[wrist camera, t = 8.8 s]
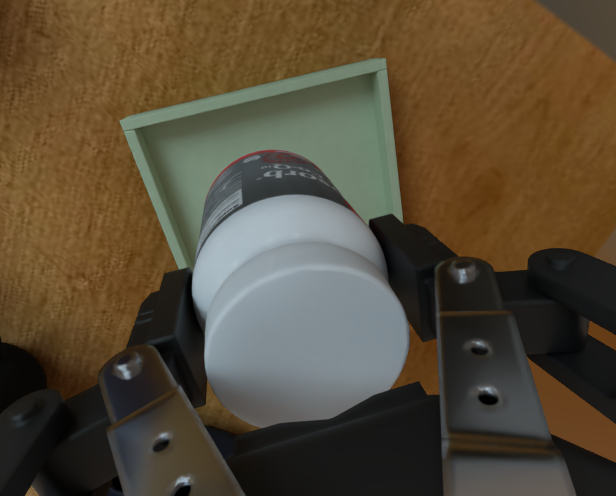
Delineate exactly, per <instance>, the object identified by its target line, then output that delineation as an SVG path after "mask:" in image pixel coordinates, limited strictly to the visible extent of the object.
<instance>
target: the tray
mask: <svg viewBox="0 0 616 496" xmlns="http://www.w3.org/2000/svg"><path fill="white" fill-rule="evenodd" d="M386 69H387V65H386V59H385V58H373V59H369V60H365V61H360V62H356V63H352V64H348V65H343V66H339V67H335V68H331V69H326V70H322V71H318V72H314V73H309V74H305V75H301V76H297V77H292V78H288V79H284V80H280V81H275V82H271V83H267V84H263V85H258V86H254V87H250V88H246V89H241V90H237V91H233V92H229V93H224V94H220V95H216V96H212V97H207V98H203V99H199V100H195V101H190V102H186V103H182V104H178V105H173V106H169V107H165V108H161V109H156V110H152V111H148V112H144V113H139V114H135V115H131V116H127V117H126V118H124V119H122V120H120V124H121V126H122V129H123V131H125V132H124V134H125V136H126V139H127V141H128V144H129V146H130V149H131V151H132V154H133V156H134V159H135V161H136V164H137V166H138V169H139V171H140V174H141V176H142V179H143V181H144V184H145V186H146V189H147V191H148V194H149V196H150V199H151V201H152V204H153V206H154V209H155V211H156V214H157V216H158V219H159V221H160V224H161V226H162V229H163V231H164V233H165V236H166V238H167V241H168V243H169V246H170V248H171V251H172V253H173V256H174V258H175V261H176V263H177V266H178V268H179V269H183V268H187V267H189V268H190V269H191V271H192V273H193V269H194V264H195V258H196V253H197V247H198V241H199V235H200V229H201V223H202V216H203V211H204V205H205V200H206V196H207V194H208V192H209V189H210V187H211V185H212V183H213V181H214V180H215V179H216V177H217V176H218V174H219V173H220V172H221V171H222V170H223V169H224V168H225V167H226V166H227V165H228V164H230V163H231V162H233V161H234V160H236V159H237V158H239V157H241V156H243V155H245V154H248V153H251V152H255V151H259V150H266V149H278V150H285V151H290V152H293V153H296V154H299V155H301V156H303V157H305V158H306V159H308V160H310V161H311V162H312V163H314V164H315V165H316V166H317V167H318V168H319V169H321V170H322V171H323V172H324V174H325V175H326V176H327V177H328V178H329V179H330V181H331V182H332V183H333V185H334V186H335V187H336V188H337V189H338V191H339V192H340V193H341V194H342V195H343V197H344V198H345V199H346V200H347V201H348V203H349V204H350V205H351V206H352V208H353V209H354V210H355V211H356V212H357V213H358V215H359V216H360V217H361V218H362V219H363V220H364V222H365V223H366V224H367V225H368V227H369V219H372V218H376V217H380V216H384V215H387V214H391V213H392V214H393V215H394V216H395V217H397V218H398V219H399V220H400V221H401V222H402V223H403V215H402V205H401V196H400V187H399V177H398V168H397V159H396V149H395V140H394V131H393V121H392V112H391V103H390V93H389V84H388V75H387V70H386Z"/></svg>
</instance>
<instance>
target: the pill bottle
mask: <svg viewBox="0 0 616 496" xmlns="http://www.w3.org/2000/svg"><path fill="white" fill-rule="evenodd" d="M388 282H389V281H388V269H387V264H386V260H385V256H384V253H383V251H382V248H381V246H380V244H379V242H378V241H377V239H376V237H375V236H374V234H373V233H372V231H371V230H370V228H369V227H368V225H367V224H366V223H365V222H364V220H363V219H362V218H361V217H360V216H359V215H358V213H357V212H356V211H355V210H354V209H353V208H352V206H351V205H350V204H349V203H348V201H347V200H346V199H345V198H344V197H343V195H342V194H341V193H340V192H339V191H338V189H337V188H336V187H335V186H334V185H333V183H332V182H331V181H330V179H329V178H328V177H327V176H326V175H325V174H324V172H323V171H322V170H321V169H319V168H318V167H317V166H316V165H315V164H314V163H312V162H311V161H310V160H308V159H306V158H305V157H303V156H301V155H299V154H296V153H293V152H290V151H285V150H278V149H266V150H259V151H255V152H251V153H248V154H245V155H243V156H241V157H239V158H237V159H236V160H234V161H233V162H231V163H230V164H228V165H227V166H226V167H225V168H224V169H223V170H222V171H221V172H220V173H219V174H218V176H217V177H216V179H215V180H214V181H213V183H212V185H211V187H210V189H209V192H208V194H207V196H206V200H205V205H204V211H203V216H202V223H201V229H200V235H199V241H198V247H197V253H196V258H195V264H194V269H193V279H192V300H193V307H194V311H195V315H196V318H197V320H198V323H199V325H200V327H201V329H202V331H203V333H204V334H205V352H204V361H205V370H206V375H207V378H208V381H209V384H210V386H211V388H212V390H213V392H214V394H215V395H216V397H217V398H218V399H219V401H220V402H221V403H222V404H223V406H224V407H225V408H227V409H228V410H229V411H230V412H231V413H232V414H234V415H235V416H237V417H238V418H240V419H241V420H243V421H245V422H247V423H249V424H251V425H253V426H256V427H260V428H265V427H268V426H271V425H275V424H278V423H286V422H299V421H312V420H325V419H330V418H333V417H335V416H337V415H339V414H341V413H342V412H344V411H346V410H348V409H350V408H351V407H353V406H355V405H357V404H359V403H360V402H362V401H364V400H366V399H368V398H369V397H371V396H373V395H375V394H378V393H382V392H385V391H388V390H389V389H390V388H391V387H392V386H393V384H394V383H395V381H396V380H397V378H398V377H399V375H400V373H401V371H402V369H403V367H404V364H405V361H406V358H407V355H408V350H409V346H410V331H409V324H408V320H407V316H406V313H405V311H404V309H403V306H402V304H401V302H400V301H399V299H398V298H397V296H396V295H395V293H394V292H393V290H392V289H391V287H390V285H389V283H388Z"/></svg>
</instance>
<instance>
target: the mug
mask: <svg viewBox="0 0 616 496" xmlns="http://www.w3.org/2000/svg"><path fill="white" fill-rule="evenodd" d="M42 389H47V383H46V377H45V374H44V371H43V369H42V367H41V366H40V364H39V363H38V362H37V360H35V359H34V358H33V357H32V356H31V355H30V354H28V353H27V352H25V351H23V350H22V349H19V348H17V347H15V346H12V345H9V344H4V343H1V337H0V414H1V413H2V412H3V411H4V410H5V409H6V408H8V407H9V406H10V405H11V404H13V403H14V402H16V401H17V400H19V399H20V398H22V397H24V396H26V395H28V394H30V393H33V392H35V391H38V390H42Z"/></svg>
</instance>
